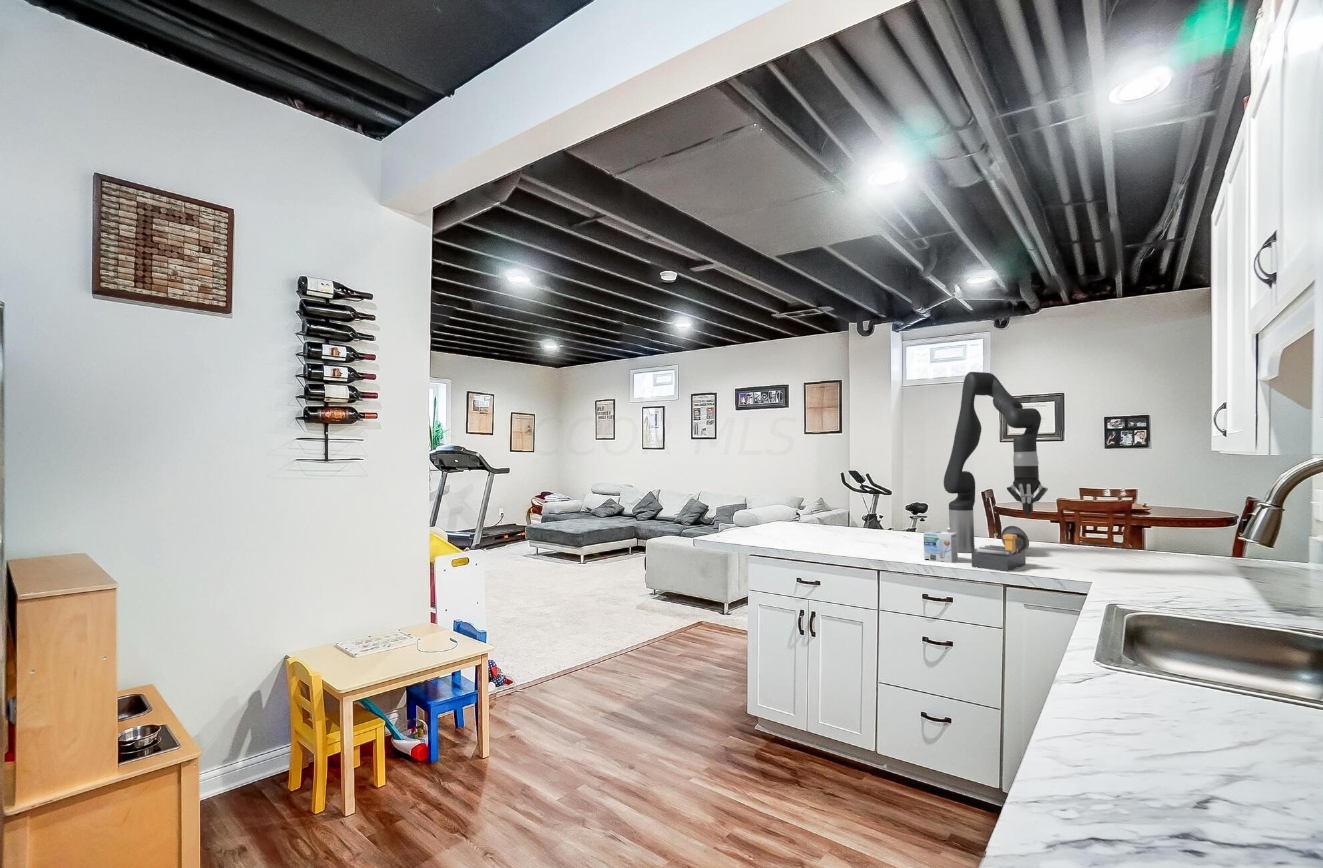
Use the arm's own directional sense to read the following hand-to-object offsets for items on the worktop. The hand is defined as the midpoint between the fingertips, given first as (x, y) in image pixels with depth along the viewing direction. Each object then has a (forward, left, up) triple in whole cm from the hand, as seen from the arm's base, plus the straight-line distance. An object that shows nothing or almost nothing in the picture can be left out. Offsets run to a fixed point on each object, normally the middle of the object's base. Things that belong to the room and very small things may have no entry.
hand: (1028, 513), depth 214 cm
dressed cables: (-10, 0, -15) cm, 18 cm away
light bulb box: (-30, -2, -20) cm, 36 cm away
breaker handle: (-6, 0, -14) cm, 16 cm away
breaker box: (-10, 0, -20) cm, 22 cm away
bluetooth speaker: (-17, +36, -20) cm, 44 cm away
